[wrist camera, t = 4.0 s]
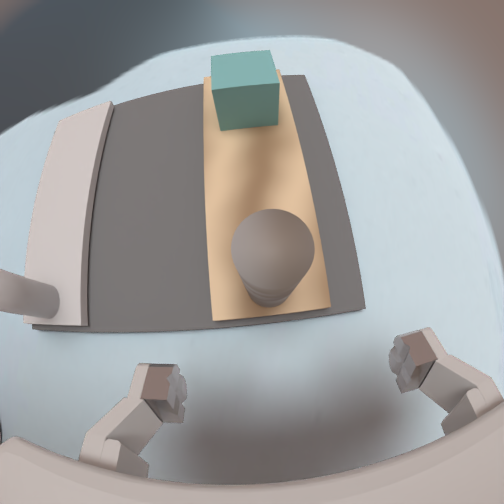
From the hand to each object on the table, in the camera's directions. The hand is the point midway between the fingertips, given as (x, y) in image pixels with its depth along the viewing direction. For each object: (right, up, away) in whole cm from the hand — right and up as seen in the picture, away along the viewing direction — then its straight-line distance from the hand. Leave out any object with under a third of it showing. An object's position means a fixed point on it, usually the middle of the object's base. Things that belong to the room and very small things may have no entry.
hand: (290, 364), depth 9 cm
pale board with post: (-20, +9, +13) cm, 26 cm away
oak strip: (-1, +11, +13) cm, 17 cm away
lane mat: (-9, +10, +14) cm, 20 cm away
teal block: (-2, +17, +14) cm, 22 cm away
